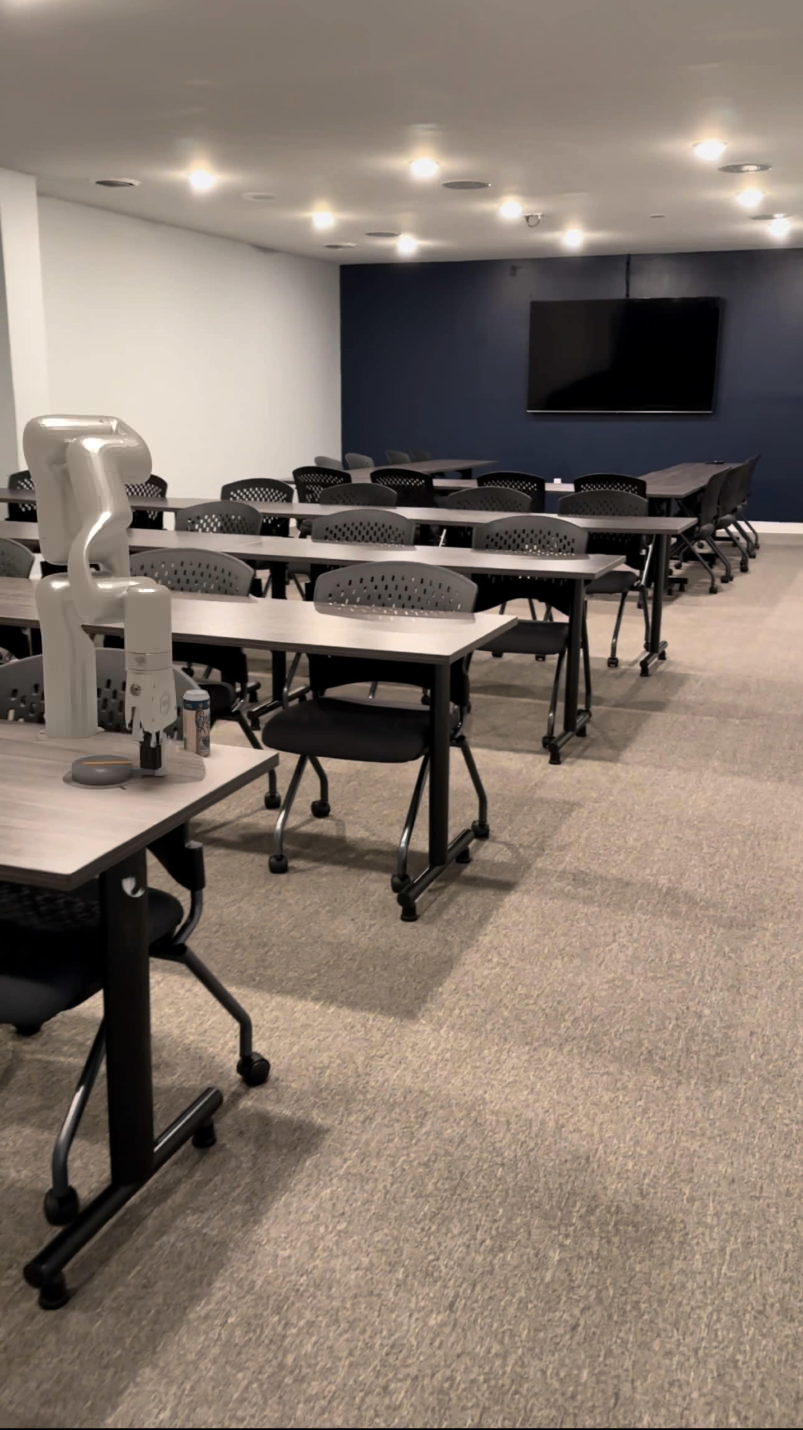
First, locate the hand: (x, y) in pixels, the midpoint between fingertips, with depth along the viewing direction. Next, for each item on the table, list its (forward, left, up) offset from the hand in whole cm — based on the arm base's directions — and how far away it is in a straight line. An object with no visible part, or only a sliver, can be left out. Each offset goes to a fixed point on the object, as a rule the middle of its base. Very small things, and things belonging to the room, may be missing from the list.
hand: (150, 767), depth 203 cm
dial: (-6, -3, -2) cm, 7 cm away
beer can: (-13, +17, -4) cm, 22 cm away
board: (-7, -4, -4) cm, 9 cm away
